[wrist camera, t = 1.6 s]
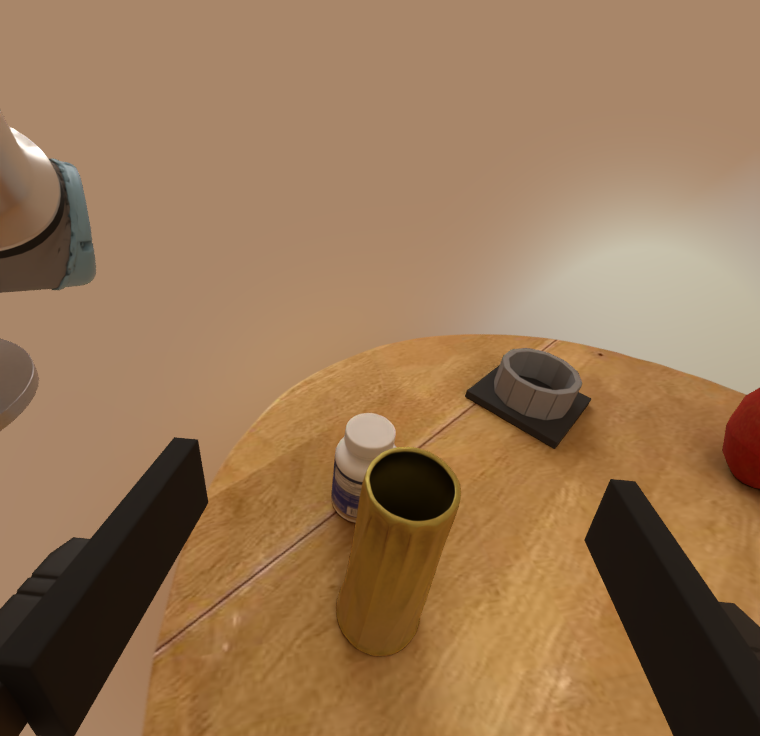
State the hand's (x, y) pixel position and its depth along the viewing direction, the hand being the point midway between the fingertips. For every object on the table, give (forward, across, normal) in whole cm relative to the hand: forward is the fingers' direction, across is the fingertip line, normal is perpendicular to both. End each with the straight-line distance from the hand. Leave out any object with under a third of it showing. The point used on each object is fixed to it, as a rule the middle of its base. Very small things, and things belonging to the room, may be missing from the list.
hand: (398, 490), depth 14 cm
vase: (+8, 0, -20) cm, 22 cm away
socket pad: (+37, +18, -17) cm, 44 cm away
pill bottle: (+18, -2, -19) cm, 26 cm away
